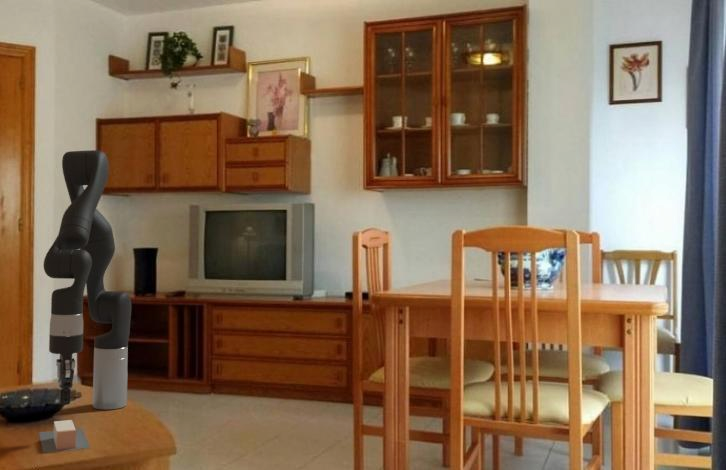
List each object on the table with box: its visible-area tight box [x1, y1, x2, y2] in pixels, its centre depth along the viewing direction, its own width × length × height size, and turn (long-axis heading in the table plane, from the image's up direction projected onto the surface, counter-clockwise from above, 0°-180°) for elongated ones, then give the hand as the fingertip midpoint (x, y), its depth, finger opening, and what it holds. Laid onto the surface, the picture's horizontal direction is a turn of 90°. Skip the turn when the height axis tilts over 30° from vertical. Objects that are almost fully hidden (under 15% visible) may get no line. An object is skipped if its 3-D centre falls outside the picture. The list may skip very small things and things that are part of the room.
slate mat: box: [38, 427, 91, 454], centre depth 169 cm, size 18×10×1 cm, turn 28°
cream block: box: [53, 419, 77, 450], centre depth 167 cm, size 4×4×10 cm
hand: (64, 403), depth 170 cm, fingers closed
